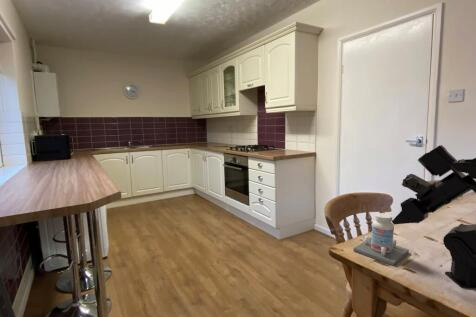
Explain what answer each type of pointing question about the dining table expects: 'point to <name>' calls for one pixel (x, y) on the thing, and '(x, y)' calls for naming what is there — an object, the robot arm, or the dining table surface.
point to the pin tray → (382, 252)
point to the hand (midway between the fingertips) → (399, 219)
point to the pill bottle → (382, 232)
